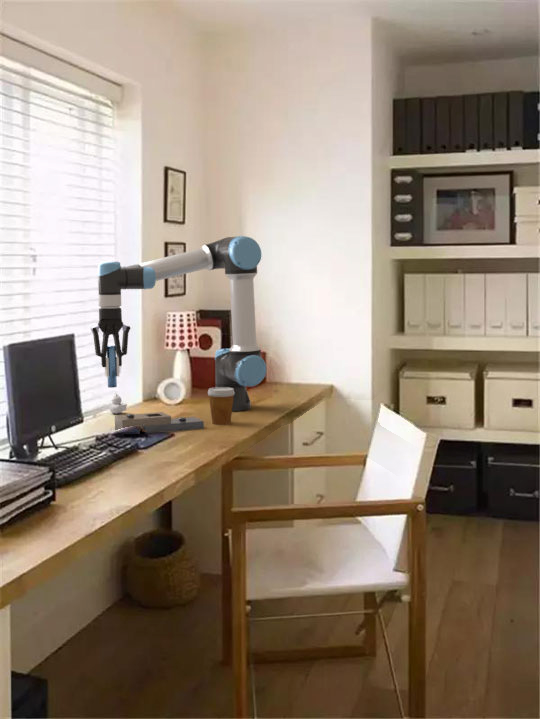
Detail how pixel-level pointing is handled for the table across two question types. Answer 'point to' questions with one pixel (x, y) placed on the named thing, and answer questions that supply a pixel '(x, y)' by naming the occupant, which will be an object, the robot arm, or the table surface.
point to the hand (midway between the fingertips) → (112, 376)
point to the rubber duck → (117, 405)
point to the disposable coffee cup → (221, 404)
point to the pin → (112, 366)
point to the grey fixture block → (158, 422)
